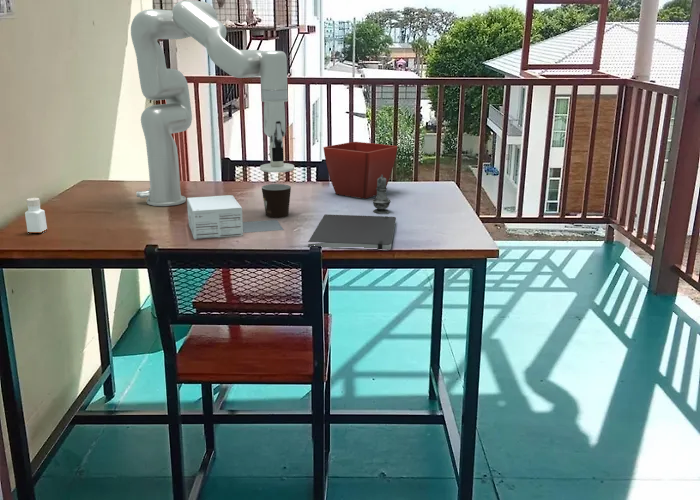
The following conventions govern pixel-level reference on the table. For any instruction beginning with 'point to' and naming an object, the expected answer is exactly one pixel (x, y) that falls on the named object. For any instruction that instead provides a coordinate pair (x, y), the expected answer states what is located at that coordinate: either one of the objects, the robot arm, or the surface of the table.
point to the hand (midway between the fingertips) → (276, 159)
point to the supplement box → (214, 217)
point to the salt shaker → (35, 216)
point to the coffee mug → (276, 200)
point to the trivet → (261, 226)
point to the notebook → (354, 231)
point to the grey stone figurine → (381, 197)
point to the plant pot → (359, 167)
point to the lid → (276, 164)
